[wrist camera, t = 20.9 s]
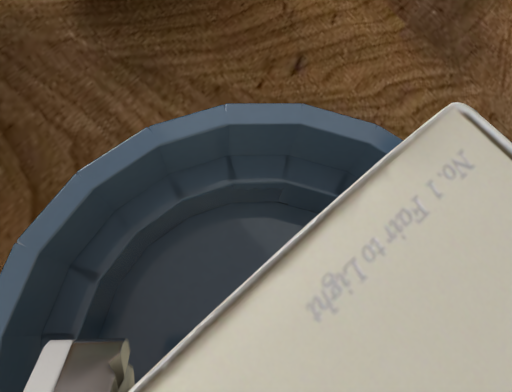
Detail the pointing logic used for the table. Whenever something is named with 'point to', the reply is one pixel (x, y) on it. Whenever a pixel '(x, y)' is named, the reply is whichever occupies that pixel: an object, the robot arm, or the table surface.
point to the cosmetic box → (377, 283)
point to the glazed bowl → (173, 227)
